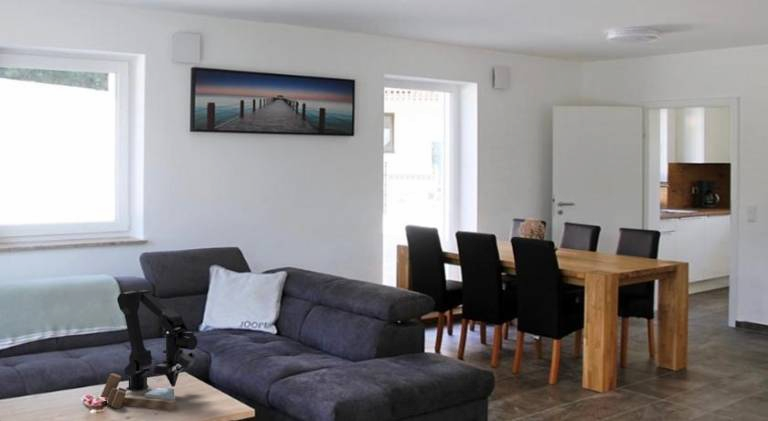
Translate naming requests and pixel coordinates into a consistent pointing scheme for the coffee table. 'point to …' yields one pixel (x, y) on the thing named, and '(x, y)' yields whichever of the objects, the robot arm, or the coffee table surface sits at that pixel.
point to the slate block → (161, 393)
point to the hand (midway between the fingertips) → (173, 386)
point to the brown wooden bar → (149, 402)
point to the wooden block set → (114, 391)
